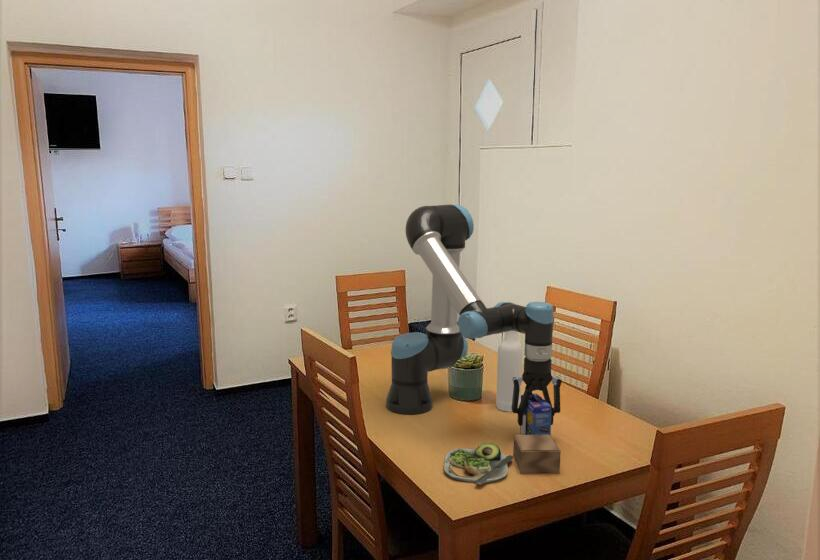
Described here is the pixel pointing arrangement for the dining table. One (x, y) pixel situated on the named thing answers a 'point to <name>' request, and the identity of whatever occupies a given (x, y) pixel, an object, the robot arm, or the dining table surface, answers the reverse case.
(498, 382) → the bottle
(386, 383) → the dining table surface
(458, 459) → the avocado toast plate
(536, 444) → the brown wooden block
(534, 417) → the ink cartridge box
